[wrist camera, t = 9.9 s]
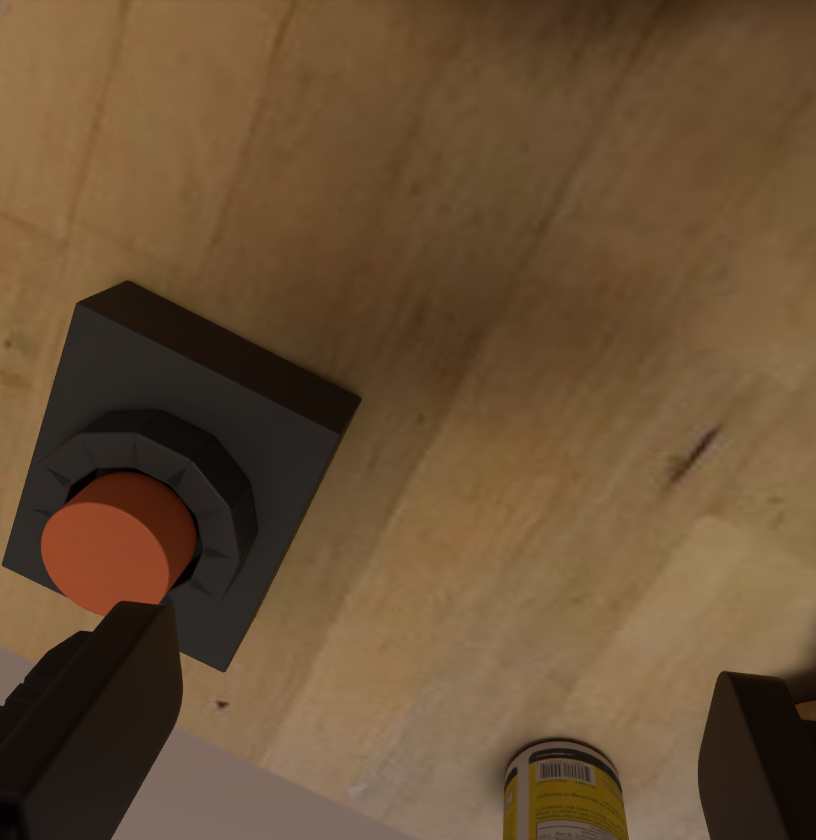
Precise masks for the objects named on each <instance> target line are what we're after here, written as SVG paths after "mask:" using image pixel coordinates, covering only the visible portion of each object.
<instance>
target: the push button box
mask: <svg viewBox="0 0 816 840" xmlns="http://www.w3.org/2000/svg"><path fill="white" fill-rule="evenodd" d="M360 402H361V398H359V397H357V396H355V395H353V394H351V393H349V392H347V391H345V390H343V389H341V388H339V387H337V386H335V385H333V384H331V383H329V382H327V381H326V380H324V379H322V378H320V377H318V376H316V375H314V374H312V373H310V372H308V371H306V370H304V369H302V368H300V367H298V366H296V365H294V364H292V363H290V362H288V361H286V360H284V359H282V358H280V357H278V356H276V355H274V354H272V353H270V352H268V351H266V350H264V349H262V348H260V347H258V346H256V345H254V344H252V343H250V342H248V341H246V340H244V339H242V338H240V337H238V336H236V335H234V334H232V333H230V332H228V331H226V330H224V329H222V328H220V327H218V326H216V325H214V324H212V323H210V322H208V321H206V320H204V319H202V318H200V317H198V316H197V315H195V314H193V313H191V312H189V311H187V310H185V309H183V308H181V307H179V306H177V305H175V304H173V303H171V302H169V301H167V300H165V299H163V298H161V297H159V296H157V295H155V294H153V293H151V292H149V291H147V290H145V289H143V288H141V287H139V286H137V285H135V284H133V283H131V282H129V281H125V282H123V283H120V284H118V285H116V286H113V287H111V288H109V289H107V290H104V291H102V292H100V293H97V294H95V295H93V296H90V297H88V298H86V299H84V300H81V301H79V302H77V303H76V306H75V310H74V313H73V317H72V320H71V324H70V327H69V331H68V334H67V338H66V341H65V345H64V348H63V352H62V355H61V359H60V362H59V366H58V369H57V373H56V376H55V380H54V383H53V387H52V390H51V394H50V397H49V401H48V404H47V408H46V411H45V415H44V418H43V422H42V425H41V429H40V432H39V436H38V439H37V443H36V446H35V450H34V453H33V457H32V460H31V464H30V467H29V471H28V474H27V478H26V481H25V485H24V488H23V492H22V495H21V499H20V502H19V506H18V509H17V513H16V516H15V520H14V523H13V527H12V530H11V534H10V537H9V541H8V544H7V548H6V551H5V555H4V558H3V562H2V566H3V567H5V568H8V569H10V570H12V571H14V572H16V573H18V574H20V575H22V576H24V577H26V578H28V579H30V580H32V581H34V582H37V583H39V584H41V585H43V586H45V587H47V588H49V589H51V590H53V591H55V592H57V593H59V594H61V595H64V596H66V595H65V594H64V593H63V592H62V591H61V590H60V589H59V588H58V587H57V586H56V584H55V583H54V582H53V580H52V579H51V577H50V575H49V574H48V572H47V570H46V567H45V565H44V562H43V558H42V553H41V539H42V534H43V531H44V528H45V526H46V524H47V522H48V521H49V519H50V518H51V517H52V516H53V515H54V514H55V513H56V512H57V511H58V510H59V509H61V508H62V507H63V506H64V505H65V504H66V503H68V502H69V501H70V500H71V499H72V498H73V497H75V496H76V495H77V494H78V493H79V492H80V491H82V490H83V489H84V488H85V487H86V486H87V485H88V484H90V483H91V482H92V481H93V480H95V479H97V478H98V477H100V476H103V475H105V474H108V473H113V472H134V473H140V474H143V475H146V476H149V477H151V478H154V479H156V480H157V481H159V482H161V483H163V484H164V485H166V486H167V487H168V488H170V489H171V490H172V491H173V492H174V493H175V494H176V495H177V496H178V497H179V498H180V499H181V500H182V501H183V503H184V504H185V505H186V507H187V509H188V510H189V512H190V514H191V516H192V519H193V521H194V525H195V529H196V548H195V552H194V555H193V557H192V559H191V561H190V563H189V564H188V565H187V567H186V568H185V569H184V571H183V572H182V573H181V575H180V576H179V577H178V579H177V580H176V581H175V583H174V584H173V585H172V587H171V588H170V590H169V591H168V592H167V594H166V595H165V596H164V598H163V599H162V600H161V602H160V603H159V604H158V605H166V606H170V607H171V608H172V609H173V611H174V613H175V617H176V625H177V634H178V644H179V651H180V652H182V653H184V654H186V655H188V656H190V657H192V658H194V659H196V660H198V661H200V662H202V663H205V664H207V665H209V666H211V667H213V668H215V669H217V670H219V671H221V672H226V670H227V668H228V666H229V665H230V663H231V661H232V659H233V657H234V655H235V653H236V652H237V650H238V648H239V646H240V644H241V642H242V640H243V638H244V637H245V635H246V633H247V631H248V629H249V627H250V625H251V624H252V622H253V620H254V618H255V616H256V614H257V612H258V610H259V608H260V606H261V604H262V602H263V600H264V597H265V595H266V593H267V591H268V589H269V587H270V585H271V583H272V581H273V579H274V577H275V575H276V573H277V571H278V569H279V567H280V565H281V563H282V561H283V559H284V557H285V555H286V553H287V551H288V549H289V547H290V544H291V542H292V540H293V538H294V536H295V534H296V532H297V530H298V528H299V526H300V524H301V522H302V520H303V518H304V516H305V514H306V512H307V510H308V508H309V506H310V504H311V502H312V500H313V498H314V496H315V494H316V492H317V489H318V487H319V485H320V483H321V481H322V479H323V477H324V475H325V473H326V471H327V469H328V467H329V465H330V463H331V461H332V459H333V457H334V455H335V453H336V451H337V449H338V447H339V445H340V443H341V441H342V439H343V436H344V434H345V432H346V430H347V428H348V426H349V424H350V422H351V420H352V418H353V416H354V414H355V412H356V410H357V408H358V406H359V404H360ZM66 597H67V596H66Z"/></svg>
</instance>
